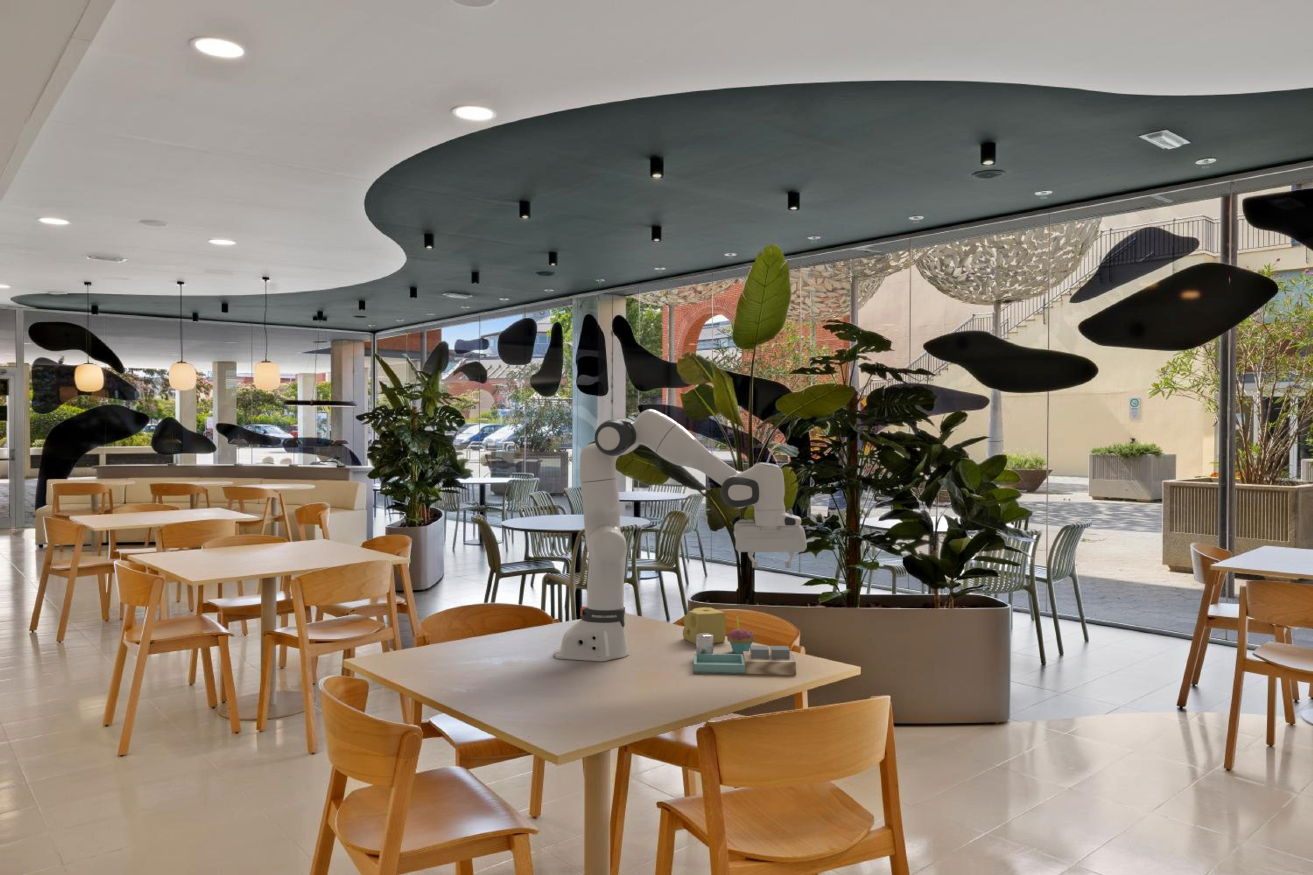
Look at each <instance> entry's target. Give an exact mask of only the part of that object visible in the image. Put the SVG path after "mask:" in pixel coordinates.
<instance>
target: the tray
mask: <svg viewBox="0 0 1313 875" xmlns="http://www.w3.org/2000/svg"><path fill="white" fill-rule="evenodd" d="M693 674H727V675H729V674H730V675H733V674H734V675H746V674H745V661H744V656H743V654H737V653H713V654H696V653H694V656H693Z"/></svg>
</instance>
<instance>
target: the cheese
mask: <svg viewBox="0 0 1313 875" xmlns="http://www.w3.org/2000/svg"><path fill="white" fill-rule="evenodd" d="M726 620H727V618H726V613H725V612H724V611H723V610H722V611H721V610H719V609H716V608H713V607H710V606H709V607H705V606H704V607H703V606H702V607H695V608H693V609H692V610H689V611H687V613H686V615H684V617H683V624H684V625H683V626H684V627H683V629H682V637H683V640H685V641H688V642H690V643H693V644H694V645H696V635H697V634H700V633H708V634H713V644H717V643H725V640H726V636H727V634H726V633H727V621H726Z"/></svg>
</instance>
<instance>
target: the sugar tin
mask: <svg viewBox="0 0 1313 875" xmlns="http://www.w3.org/2000/svg"><path fill="white" fill-rule="evenodd" d="M695 645H696V648H695V649H696V650H695V651H696V652H695V654H714V643H713V634H708V633H700V634H697V635H696V644H695Z"/></svg>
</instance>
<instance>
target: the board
mask: <svg viewBox="0 0 1313 875" xmlns="http://www.w3.org/2000/svg"><path fill="white" fill-rule="evenodd" d="M743 656H744V661H745V674H744V675H784V676H785V675H789V676H790V675H791V676H792V675H793V676H796V675H797V662H796V659H795V656H794V654H793V652H792V651H790V659H772V658H771V655H770V651H769V659H762V658H751V656H750V650H749V651H743Z"/></svg>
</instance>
